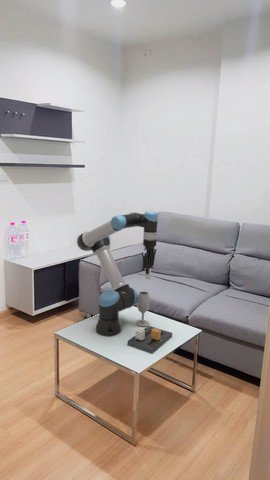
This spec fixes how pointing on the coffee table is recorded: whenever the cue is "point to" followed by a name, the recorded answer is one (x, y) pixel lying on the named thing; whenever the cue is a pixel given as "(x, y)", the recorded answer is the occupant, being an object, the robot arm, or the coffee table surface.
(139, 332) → the fader
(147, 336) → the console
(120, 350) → the coffee table surface
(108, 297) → the robot arm
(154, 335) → the block
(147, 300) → the wineglass
